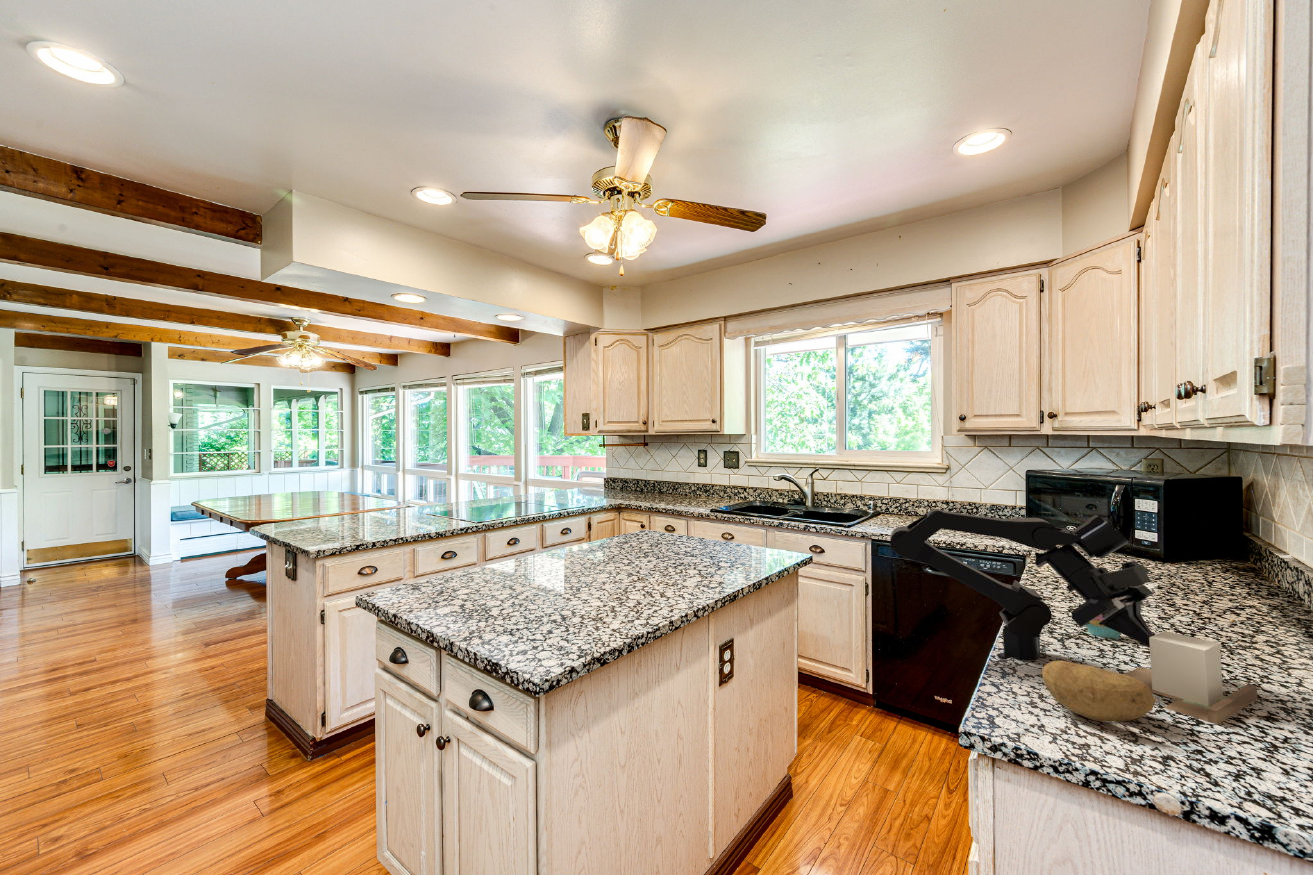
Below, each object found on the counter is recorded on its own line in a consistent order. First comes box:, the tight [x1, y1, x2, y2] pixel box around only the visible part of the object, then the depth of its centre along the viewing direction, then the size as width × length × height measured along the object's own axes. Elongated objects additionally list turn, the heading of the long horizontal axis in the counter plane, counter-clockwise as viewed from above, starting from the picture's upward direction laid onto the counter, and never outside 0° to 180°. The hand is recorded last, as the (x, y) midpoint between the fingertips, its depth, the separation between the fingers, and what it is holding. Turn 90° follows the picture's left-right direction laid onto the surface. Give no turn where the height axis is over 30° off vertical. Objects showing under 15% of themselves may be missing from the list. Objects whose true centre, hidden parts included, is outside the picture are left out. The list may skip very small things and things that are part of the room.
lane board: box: [1123, 666, 1259, 725], centre depth 90 cm, size 15×16×3 cm
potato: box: [1041, 660, 1156, 723], centre depth 85 cm, size 10×14×8 cm
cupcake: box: [1085, 614, 1122, 640], centre depth 117 cm, size 9×8×12 cm
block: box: [1149, 630, 1224, 707], centre depth 89 cm, size 7×6×9 cm
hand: (1156, 646), depth 93 cm, fingers closed
